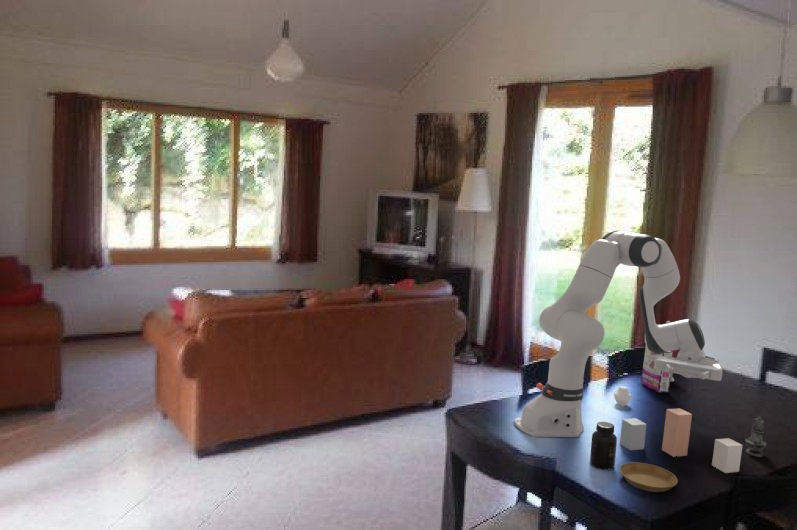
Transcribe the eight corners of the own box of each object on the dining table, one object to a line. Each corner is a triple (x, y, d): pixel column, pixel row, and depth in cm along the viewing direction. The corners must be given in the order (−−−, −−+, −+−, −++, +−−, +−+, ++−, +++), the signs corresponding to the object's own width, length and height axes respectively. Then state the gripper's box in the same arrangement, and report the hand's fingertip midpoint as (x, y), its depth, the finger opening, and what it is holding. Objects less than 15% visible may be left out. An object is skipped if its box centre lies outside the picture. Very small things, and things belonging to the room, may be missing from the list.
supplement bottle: (609, 459, 187) (613, 420, 185) (618, 470, 180) (622, 429, 179) (586, 458, 187) (590, 419, 185) (593, 469, 180) (598, 428, 178)
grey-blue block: (630, 450, 195) (632, 425, 194) (619, 443, 199) (622, 419, 198) (643, 449, 196) (646, 424, 195) (633, 442, 201) (635, 418, 200)
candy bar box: (669, 392, 254) (674, 352, 252) (658, 392, 252) (663, 352, 250) (650, 383, 264) (654, 344, 262) (640, 383, 263) (644, 345, 261)
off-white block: (725, 473, 183) (728, 446, 182) (711, 465, 187) (715, 439, 186) (738, 471, 184) (742, 445, 183) (725, 464, 189) (728, 438, 188)
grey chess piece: (768, 458, 195) (773, 420, 193) (747, 455, 196) (752, 417, 194) (761, 450, 200) (766, 413, 199) (741, 447, 202) (746, 411, 200)
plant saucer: (638, 466, 184) (639, 457, 184) (687, 487, 173) (688, 478, 172) (607, 478, 175) (608, 469, 175) (657, 501, 164) (658, 492, 163)
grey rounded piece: (634, 406, 234) (636, 388, 234) (621, 408, 232) (623, 389, 231) (621, 401, 240) (623, 383, 239) (609, 402, 237) (611, 384, 236)
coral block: (673, 456, 192) (678, 415, 190) (661, 449, 196) (666, 409, 195) (686, 455, 193) (692, 414, 192) (675, 448, 198) (680, 408, 196)
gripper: (657, 349, 219) (652, 358, 207) (723, 360, 210) (722, 370, 197) (655, 367, 220) (650, 377, 208) (721, 378, 210) (720, 389, 198)
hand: (686, 373), depth 203 cm, fingers open, 8 cm apart
